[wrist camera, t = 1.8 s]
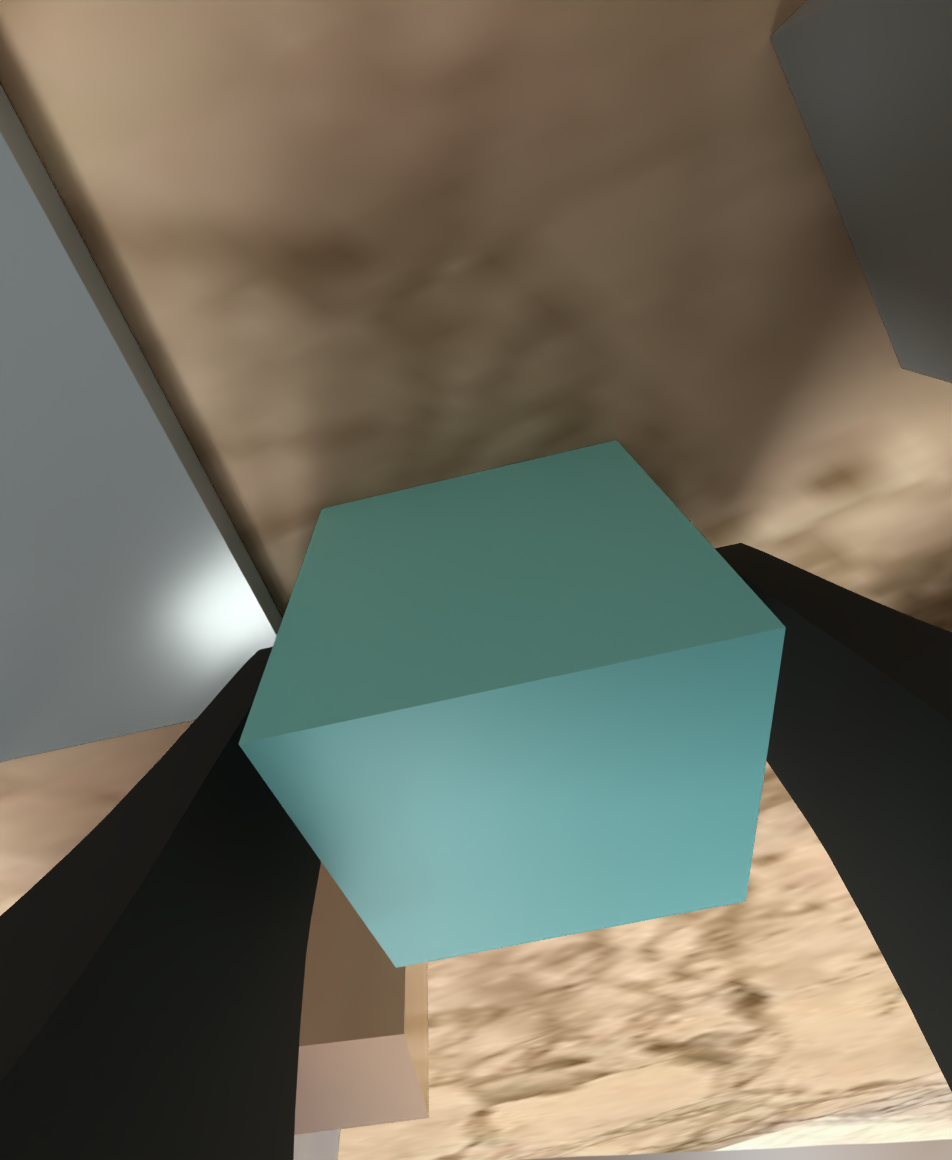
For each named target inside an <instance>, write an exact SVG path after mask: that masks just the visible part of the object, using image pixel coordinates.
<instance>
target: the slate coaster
mask: <svg viewBox="0 0 952 1160" xmlns="http://www.w3.org/2000/svg"><path fill="white" fill-rule="evenodd" d="M282 620H283V619H282V617H281V615H280V613H279V611H278V609H277V607H276V606H275V604H274V602H273V600H272V598H271V596H270V594H269V592H268V590H267V589H266V587H265V585H264V583H263V581H262V579H261V577H260V575H259V573H258V571H257V570H256V568H255V566H254V564H253V562H252V560H251V558H250V556H249V554H248V552H247V551H246V549H245V547H244V545H243V543H242V541H241V539H240V537H239V535H238V534H237V532H236V530H235V528H234V526H233V524H232V522H231V520H230V518H229V516H228V515H227V513H226V511H225V509H224V507H223V505H222V503H221V501H220V499H219V498H218V496H217V494H216V492H215V490H214V488H213V486H212V484H211V482H210V480H209V479H208V477H207V475H206V473H205V471H204V469H203V467H202V465H201V463H200V462H199V460H198V458H197V456H196V454H195V452H194V450H193V448H192V446H191V444H190V443H189V441H188V439H187V437H186V435H185V433H184V431H183V429H182V427H181V426H180V424H179V422H178V420H177V418H176V416H175V414H174V412H173V410H172V408H171V407H170V405H169V403H168V401H167V399H166V397H165V395H164V393H163V391H162V390H161V388H160V386H159V384H158V382H157V380H156V378H155V376H154V374H153V372H152V371H151V369H150V367H149V365H148V363H147V361H146V359H145V357H144V355H143V354H142V352H141V350H140V348H139V346H138V344H137V342H136V340H135V338H134V336H133V335H132V333H131V331H130V329H129V327H128V325H127V323H126V321H125V319H124V318H123V316H122V314H121V312H120V310H119V308H118V306H117V304H116V302H115V300H114V299H113V297H112V295H111V293H110V291H109V289H108V287H107V285H106V283H105V281H104V280H103V278H102V276H101V274H100V272H99V270H98V268H97V266H96V264H95V263H94V261H93V259H92V257H91V255H90V253H89V251H88V249H87V247H86V245H85V244H84V242H83V240H82V238H81V236H80V234H79V232H78V230H77V228H76V227H75V225H74V223H73V221H72V219H71V217H70V215H69V213H68V211H67V209H66V208H65V206H64V204H63V202H62V200H61V198H60V196H59V194H58V192H57V191H56V189H55V187H54V185H53V183H52V181H51V179H50V177H49V175H48V173H47V172H46V170H45V168H44V166H43V164H42V162H41V160H40V158H39V156H38V155H37V153H36V151H35V149H34V147H33V145H32V143H31V141H30V139H29V137H28V136H27V134H26V132H25V130H24V128H23V126H22V124H21V122H20V120H19V119H18V117H17V115H16V113H15V111H14V109H13V107H12V105H11V103H10V101H9V100H8V98H7V96H6V94H5V92H4V90H3V88H2V86H1V84H0V762H3V761H8V760H12V759H17V758H21V757H26V756H31V755H35V754H40V753H44V752H49V751H54V750H58V749H63V748H68V747H72V746H77V745H81V744H86V743H91V742H95V741H100V740H104V739H109V738H114V737H118V736H123V735H127V734H132V733H137V732H141V731H146V730H151V729H155V728H160V727H164V726H169V725H174V724H178V723H183V722H187V721H192V720H196V719H197V717H198V716H199V715H200V714H201V713H202V712H203V711H204V710H205V708H206V707H207V706H208V705H209V704H210V703H211V702H212V700H213V699H214V698H215V697H216V696H217V695H218V693H219V692H220V691H221V690H222V689H223V688H224V687H225V685H226V684H227V683H228V682H229V681H230V680H231V679H232V678H233V676H234V675H235V674H236V673H237V672H238V671H239V670H240V669H241V668H242V666H243V665H244V664H245V663H246V662H247V661H248V660H249V659H250V658H251V657H252V656H253V655H254V654H255V653H256V652H257V651H258V650H260V649H265V648H269V647H273V645H274V642H275V639H276V637H277V634H278V631H279V628H280V625H281V622H282Z"/></svg>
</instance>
